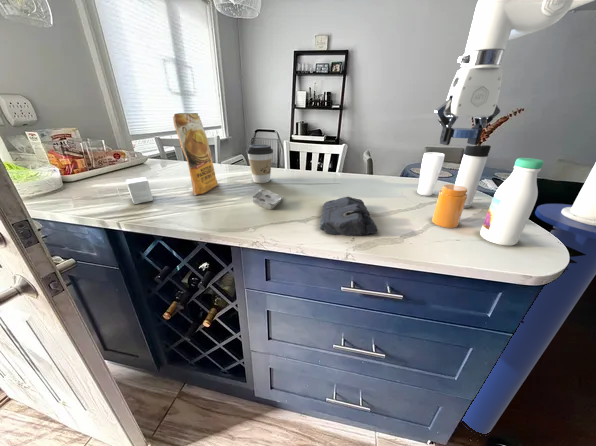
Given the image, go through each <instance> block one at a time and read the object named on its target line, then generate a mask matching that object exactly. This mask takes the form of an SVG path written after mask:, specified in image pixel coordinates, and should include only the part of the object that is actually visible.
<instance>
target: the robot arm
mask: <svg viewBox="0 0 596 446" xmlns="http://www.w3.org/2000/svg"><path fill="white" fill-rule="evenodd" d="M595 1H596V0H478V1H477V3H476V6H475V10H474V13H473V17H472V18H473V19H472V21H471V26H470V30H469V35H468V37H467V42H466V46H465V50H464V54H463V55H460V56H459V57H458V58H457V63H458V64H460V69H458V70H457V71H456V74H455V76H454V78H453V80H452V83H451V85H450V88H449V92H448V94H447V97H446V100H445V101H444V102H443V103H442V104H441V105H439V107H437V108H436V109H434V115H435V117H436V118H437V121H438V122H439V124H440V126H441V128H442V129H441V133H440V138H439V144H440V145H444V146H449V145H450V144H451V140H452V138H453V137H452V133H453V128H454V127H453V126H454V124H455V123H456V121H457V120H458V118H459V117H460V118H472V119H473V126H471V128H470V129H478V130H479V131H478V135H477V137H476V138H467V141H466V143H467V144H469V145H471V146H478V145H479V142H480V139H481V136H482V133H483V130H484V129H486V128H487V126H488V125H489V124H490V123H491V122H492V121H493V120H494V119H495V118H497V116H498V115H499V114H500V113H501V109H500V108H499V106H498V101H499V97H500V93H501V88H502V84H503V83H502V82H503V76H504V75H503V74H504V68H502V67H501V65H502V62H503V58H504V56H505V53H506V52H505V51H506V49H507V46H508V43H509V41H512V40H516V39H518V38H521V37H524V36H527V35H531V34H534V33H537V32H539V31H540V32H541V31H543V30H545V29H547V28H550V27H551V26H553V25H555V24H556V23H558V22H559V21H560V20H561V19H562V18H563V17H564V16H566V14H567V13H568V12H569V11H571V10H573V9H576V8H579V7H581V6H585V5H587V4H591V3H592V2H595ZM572 205H573V206H572V207H566V208H563V209H562V211H561V213H562V215H564V216H565V217H567V218H570V219H572V220H575V221H578V222H581V223H584V224H588V225H593V226H596V162H595V163H594V165H593V167H592V168H591V170H590V172H589V174H588V176H587V178H586V180H585V182H584V184H583V185H582V187H581V189H580V191H579V192H578V195H577V196H576V198H575V200H574V201H573V204H572Z"/></svg>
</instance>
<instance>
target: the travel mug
mask: <svg viewBox="0 0 596 446" xmlns="http://www.w3.org/2000/svg"><path fill="white" fill-rule="evenodd" d="M491 147H492V146H491V145H488V144H485V145H484V144H482V145H466V146H465V150H464V153H463V156H462V159H461V162H460V166H459V169H458V171H457V176H456V178H455V183H454V185H459V186H462V187H465V188H467V192H466V194H467V195H468V196H467V199H466V202H465V205H464V208H463V209H470V208H471V207H472V204H473V201H474V198H475V196H476V194H477V193H476V192H477V190H478V187H479V184H480V180H481V178H482V175H483V172H484V169H485V166H486V163H487V161H488V158H489V153H490V151H491Z"/></svg>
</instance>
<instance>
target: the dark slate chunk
mask: <svg viewBox="0 0 596 446" xmlns="http://www.w3.org/2000/svg"><path fill="white" fill-rule="evenodd" d="M320 216H321V217H320V219H319V220H320V221H319V222H320V223H319V229H320V230H321V231H324V233H325V234H327V235H335V236H336V235H342V236H351V237H357V236H362V235H364V236H366V235H370V234H377V232H378V227H377V225H376V223H375V221H374V220H373V218H372V217H371V214H370V211H369V210H368V208H367V207H366V205H365V203H364V201H363V199H360V198H357V197H356V198H355V197H351V196H343V197H339V198H337V199H332V200H331V199H330V200H328V201H326V202H324V203H323V206H322V209H321V215H320Z"/></svg>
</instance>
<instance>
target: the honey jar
mask: <svg viewBox="0 0 596 446" xmlns="http://www.w3.org/2000/svg"><path fill="white" fill-rule="evenodd" d="M466 192H467V188H465V187H462V186H459V185H455V184H443V186H442V187H441V190H439V192H438V196H437V200H436V203H435V207H434V211H433V215H432V218H431V222H432V223H433V224H435V225H436V226H438V227H442V228H447V229H455V228H458V227H459V224H460V221H461V217H462V214H463V211H464V209H465V208H464V205H465V202H466V199H467V196H468V195H467V194H466Z"/></svg>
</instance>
